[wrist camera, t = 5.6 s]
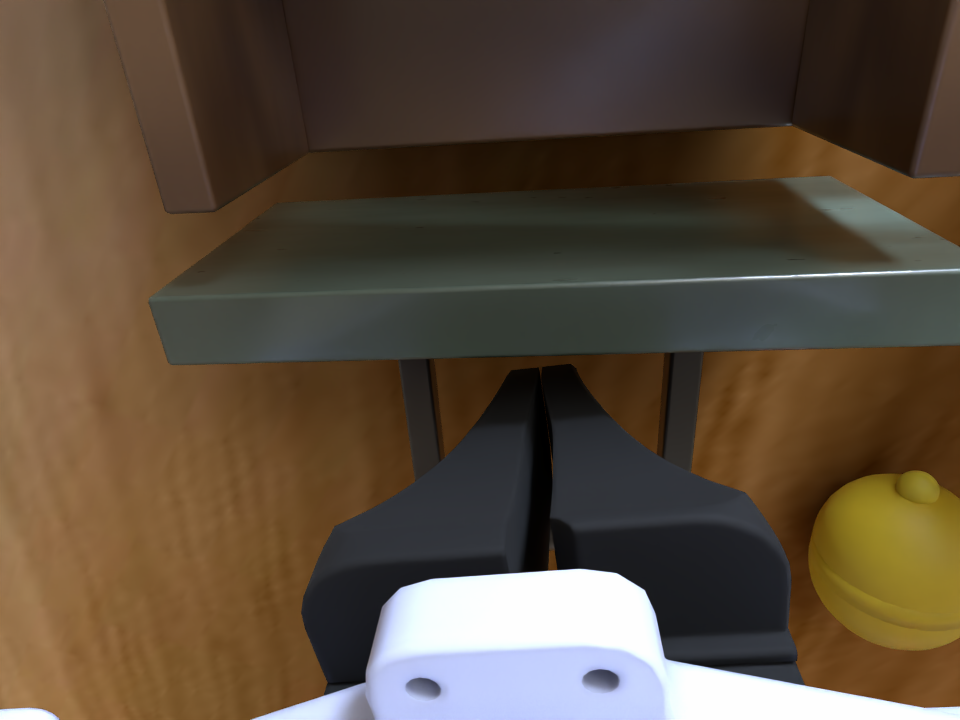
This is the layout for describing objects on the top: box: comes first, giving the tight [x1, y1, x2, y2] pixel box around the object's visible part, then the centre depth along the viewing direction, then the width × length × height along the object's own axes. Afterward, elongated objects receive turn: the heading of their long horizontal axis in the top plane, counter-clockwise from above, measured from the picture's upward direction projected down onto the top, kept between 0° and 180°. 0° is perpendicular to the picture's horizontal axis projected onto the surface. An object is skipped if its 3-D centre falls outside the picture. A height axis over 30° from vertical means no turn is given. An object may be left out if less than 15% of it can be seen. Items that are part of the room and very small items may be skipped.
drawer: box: [103, 0, 960, 551], centre depth 10 cm, size 20×12×6 cm, turn 4°
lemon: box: [808, 470, 960, 651], centre depth 17 cm, size 6×4×4 cm
